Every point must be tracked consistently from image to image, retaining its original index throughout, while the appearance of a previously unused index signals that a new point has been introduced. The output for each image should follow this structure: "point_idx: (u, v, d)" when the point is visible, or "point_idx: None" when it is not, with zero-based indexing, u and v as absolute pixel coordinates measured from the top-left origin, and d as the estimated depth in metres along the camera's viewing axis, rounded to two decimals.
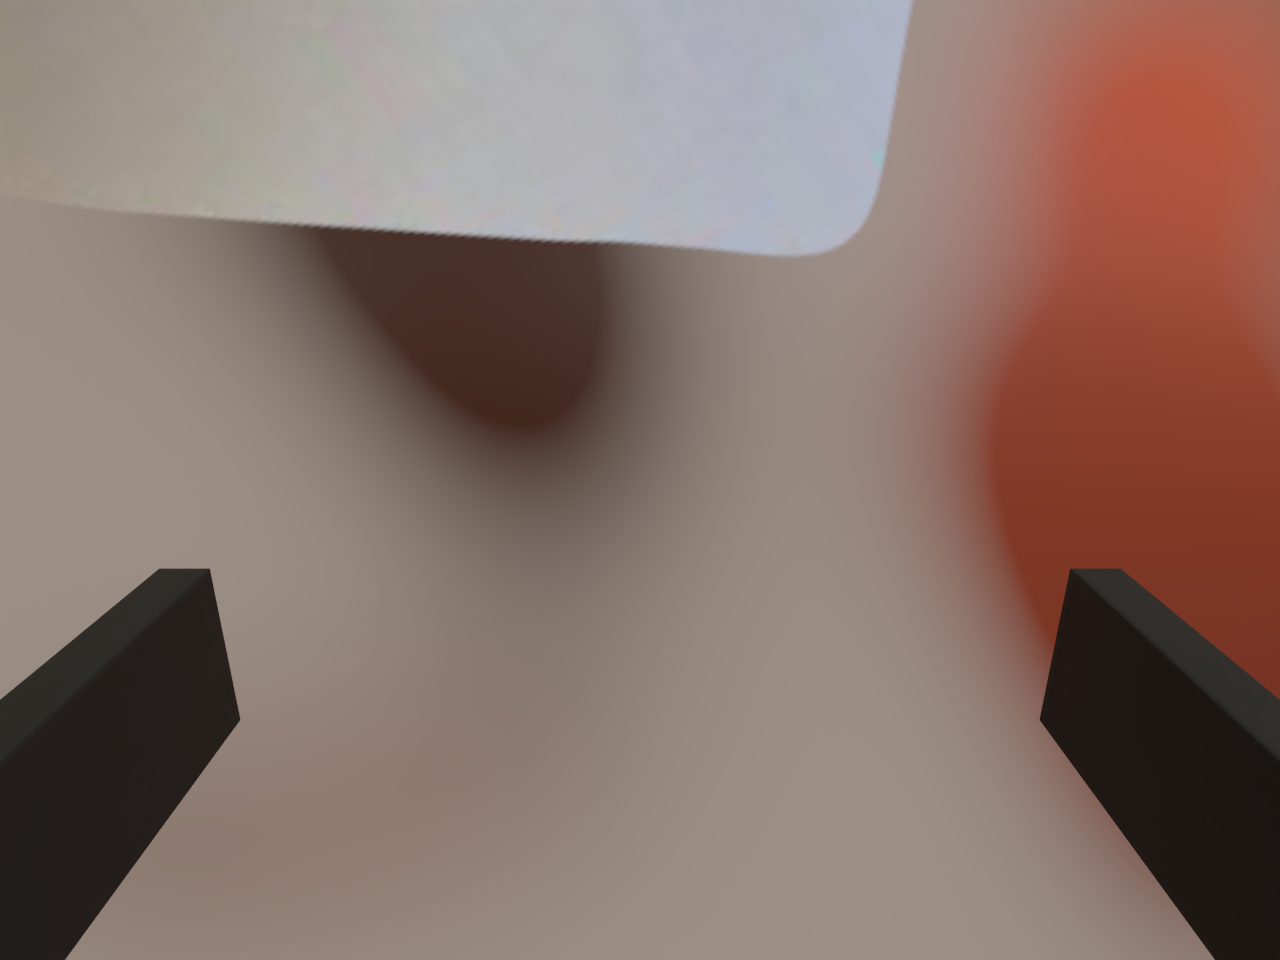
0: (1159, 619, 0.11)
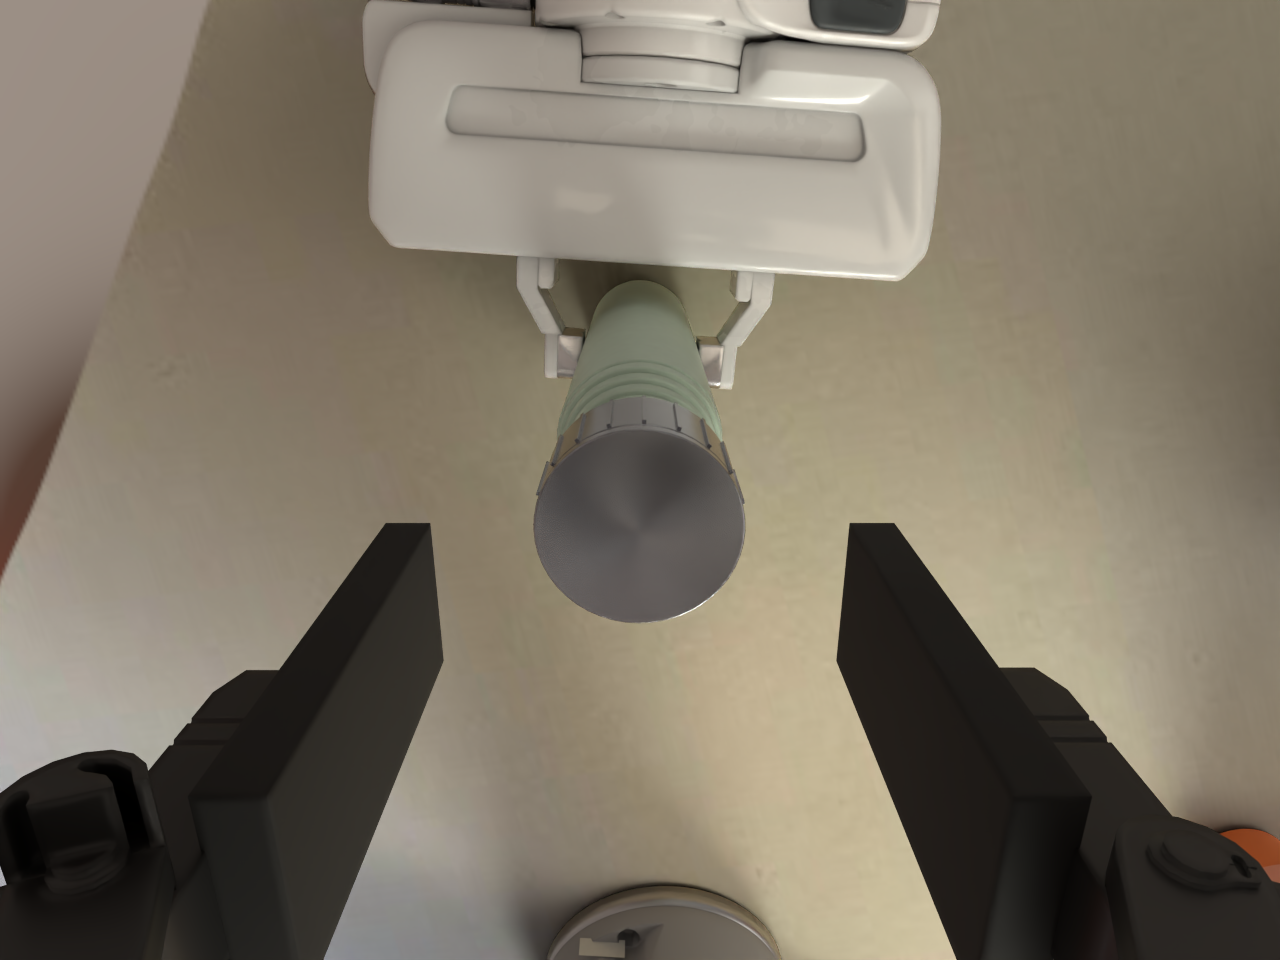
0: (902, 562, 0.13)
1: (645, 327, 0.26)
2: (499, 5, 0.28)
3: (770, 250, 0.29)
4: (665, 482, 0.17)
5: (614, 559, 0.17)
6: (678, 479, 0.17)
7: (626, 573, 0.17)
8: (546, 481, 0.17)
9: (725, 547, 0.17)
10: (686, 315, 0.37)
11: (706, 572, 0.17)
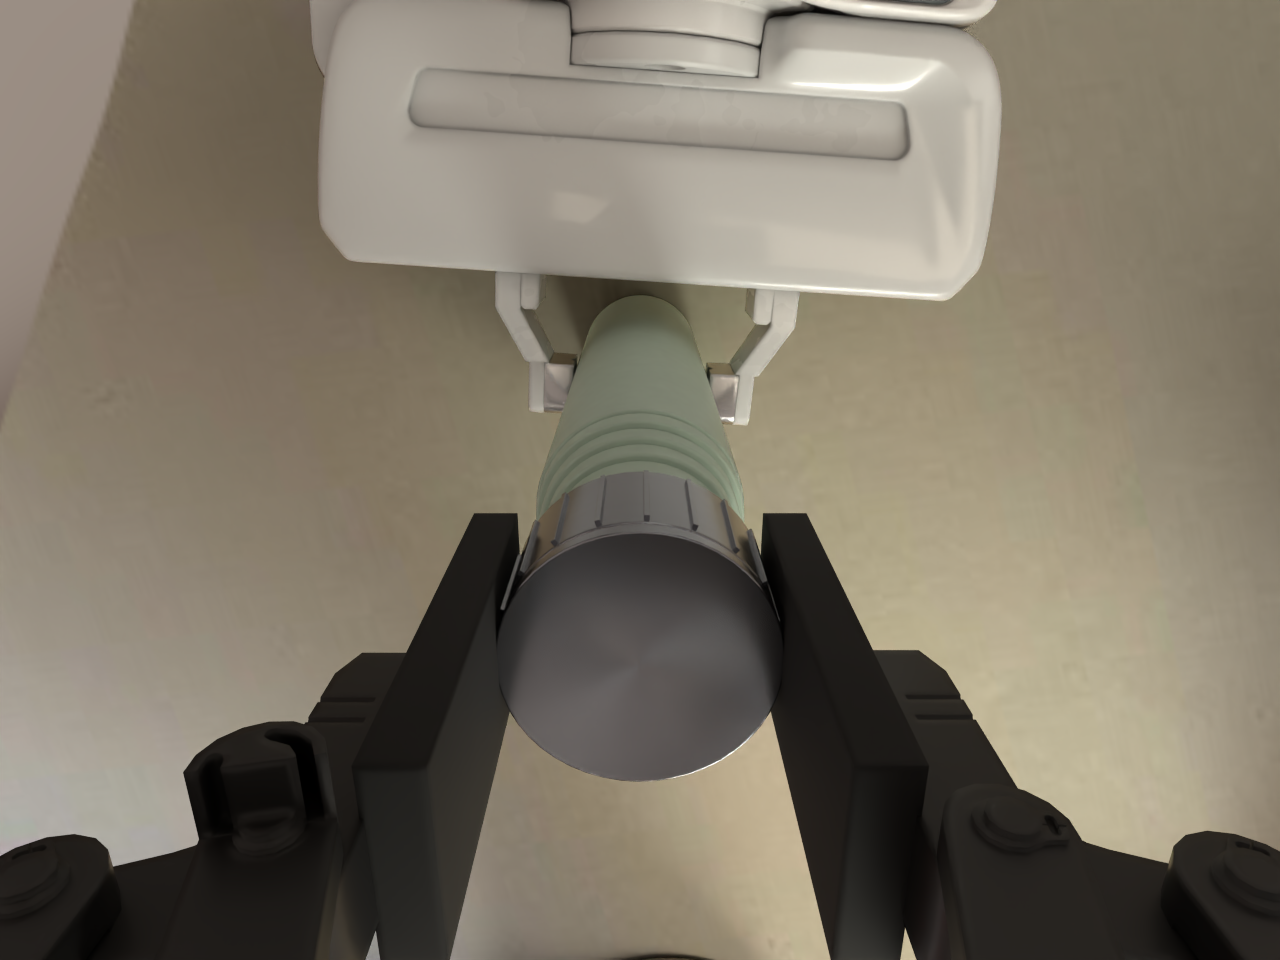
0: (804, 550, 0.13)
1: (647, 360, 0.22)
2: None
3: (795, 265, 0.25)
4: (676, 602, 0.12)
5: (606, 701, 0.13)
6: (694, 598, 0.12)
7: (622, 719, 0.13)
8: (511, 600, 0.12)
9: (757, 686, 0.12)
10: (693, 336, 0.32)
11: (731, 718, 0.13)
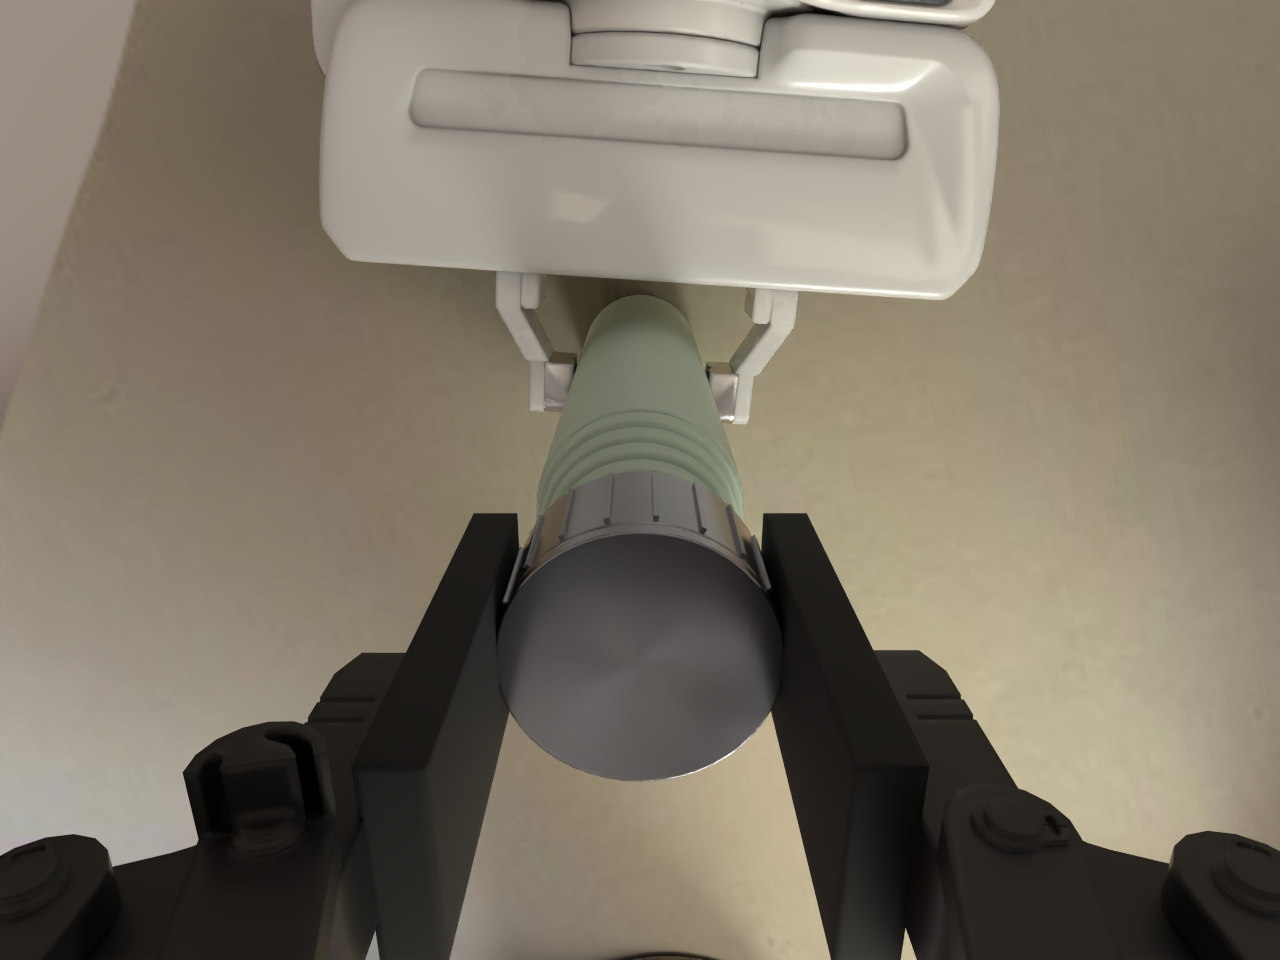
0: (804, 550, 0.13)
1: (647, 359, 0.22)
2: None
3: (794, 264, 0.25)
4: (563, 678, 0.12)
5: (695, 664, 0.12)
6: (549, 670, 0.12)
7: (702, 641, 0.12)
8: None
9: (581, 567, 0.12)
10: None
11: (629, 563, 0.12)
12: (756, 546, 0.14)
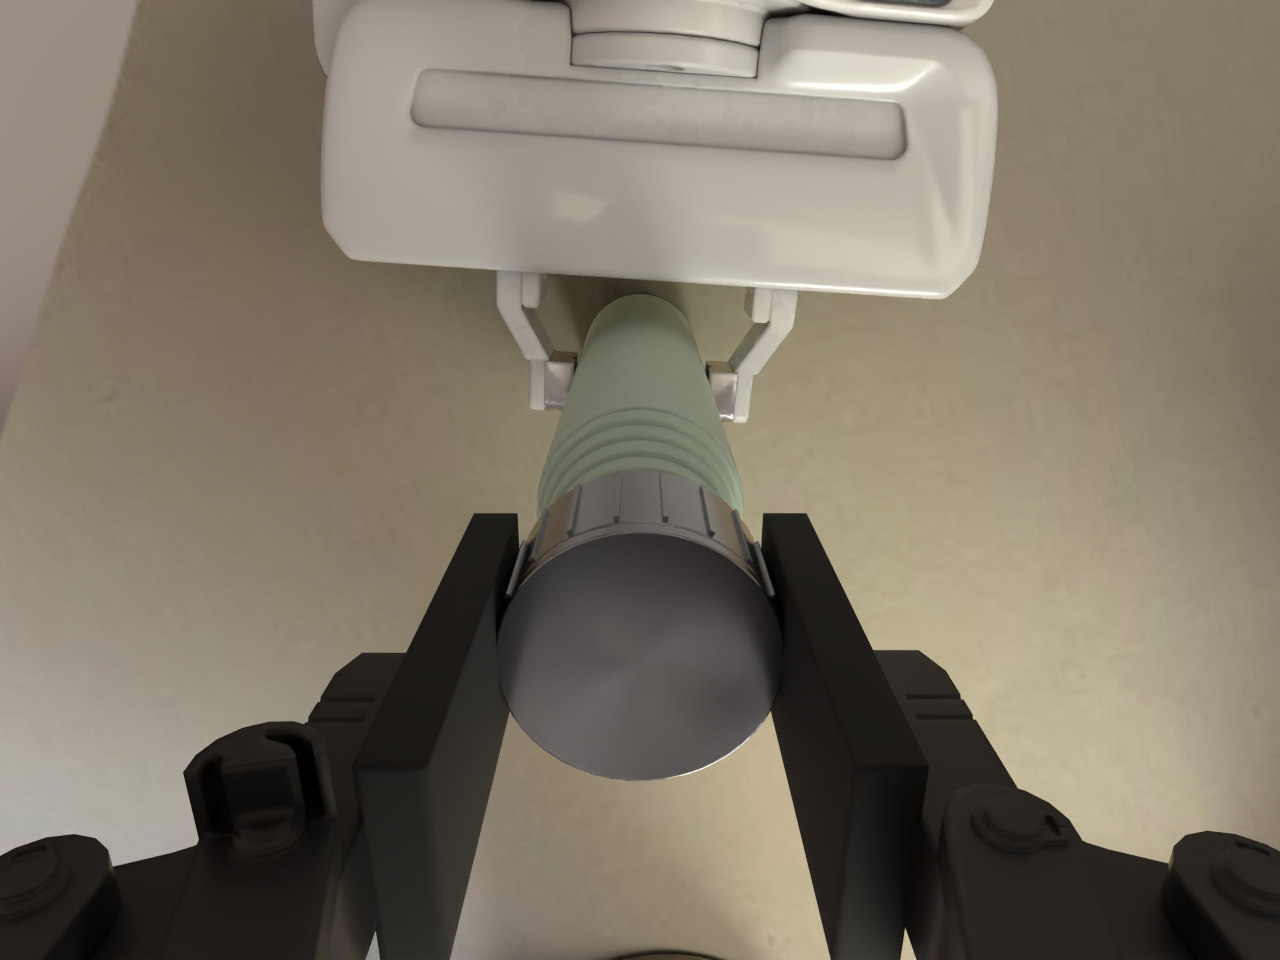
0: (804, 550, 0.13)
1: (647, 358, 0.22)
2: None
3: (793, 263, 0.25)
4: (700, 706, 0.13)
5: (604, 626, 0.12)
6: (701, 719, 0.13)
7: (579, 637, 0.12)
8: (741, 568, 0.12)
9: (593, 755, 0.13)
10: (692, 334, 0.33)
11: (561, 730, 0.13)
12: None
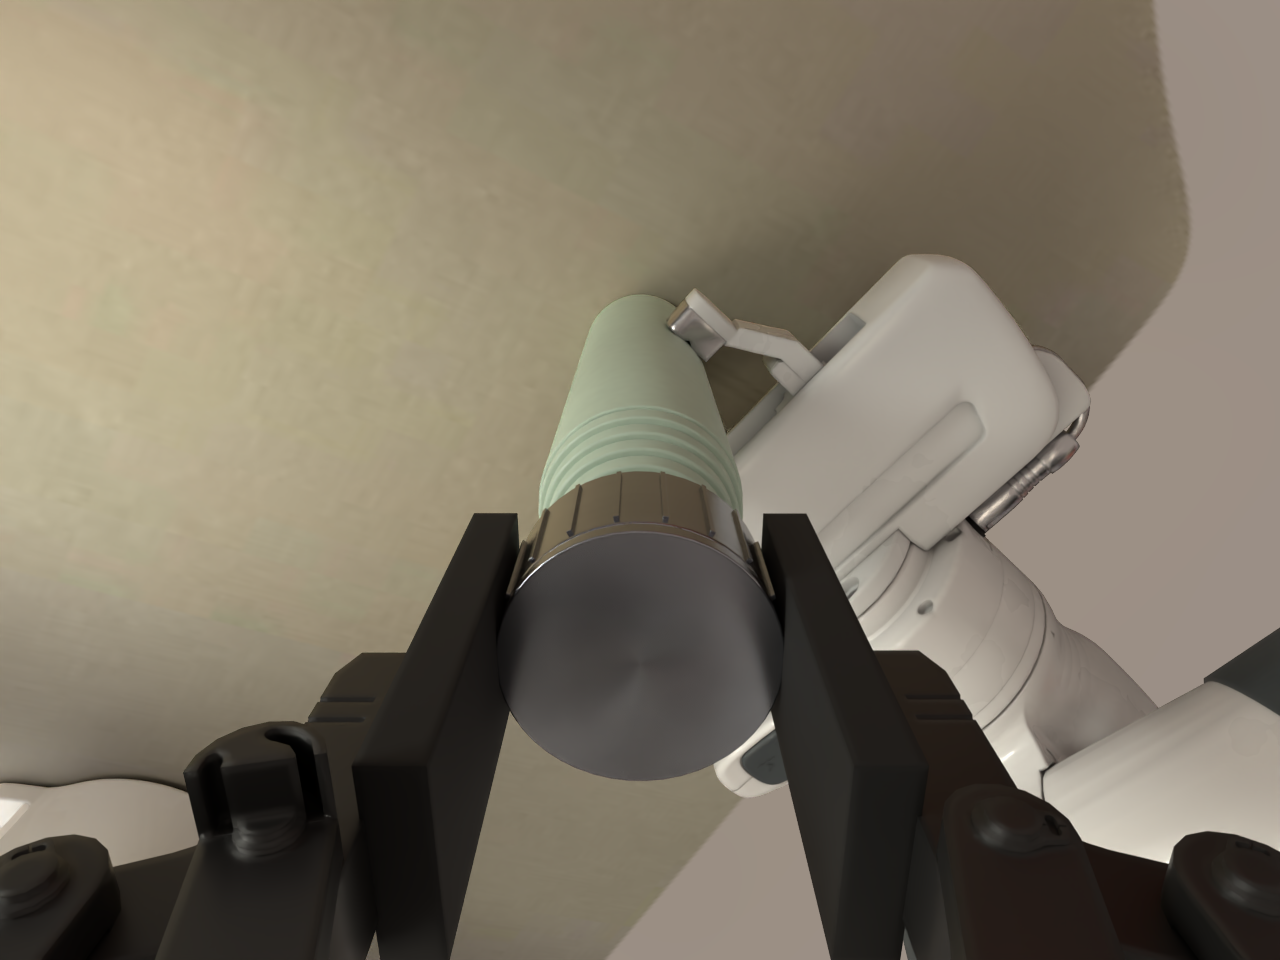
0: (805, 550, 0.13)
1: None
2: (992, 496, 0.29)
3: None
4: (700, 705, 0.13)
5: (604, 626, 0.12)
6: (701, 719, 0.13)
7: (579, 637, 0.12)
8: (741, 568, 0.12)
9: (593, 755, 0.13)
10: None
11: (561, 729, 0.13)
12: None
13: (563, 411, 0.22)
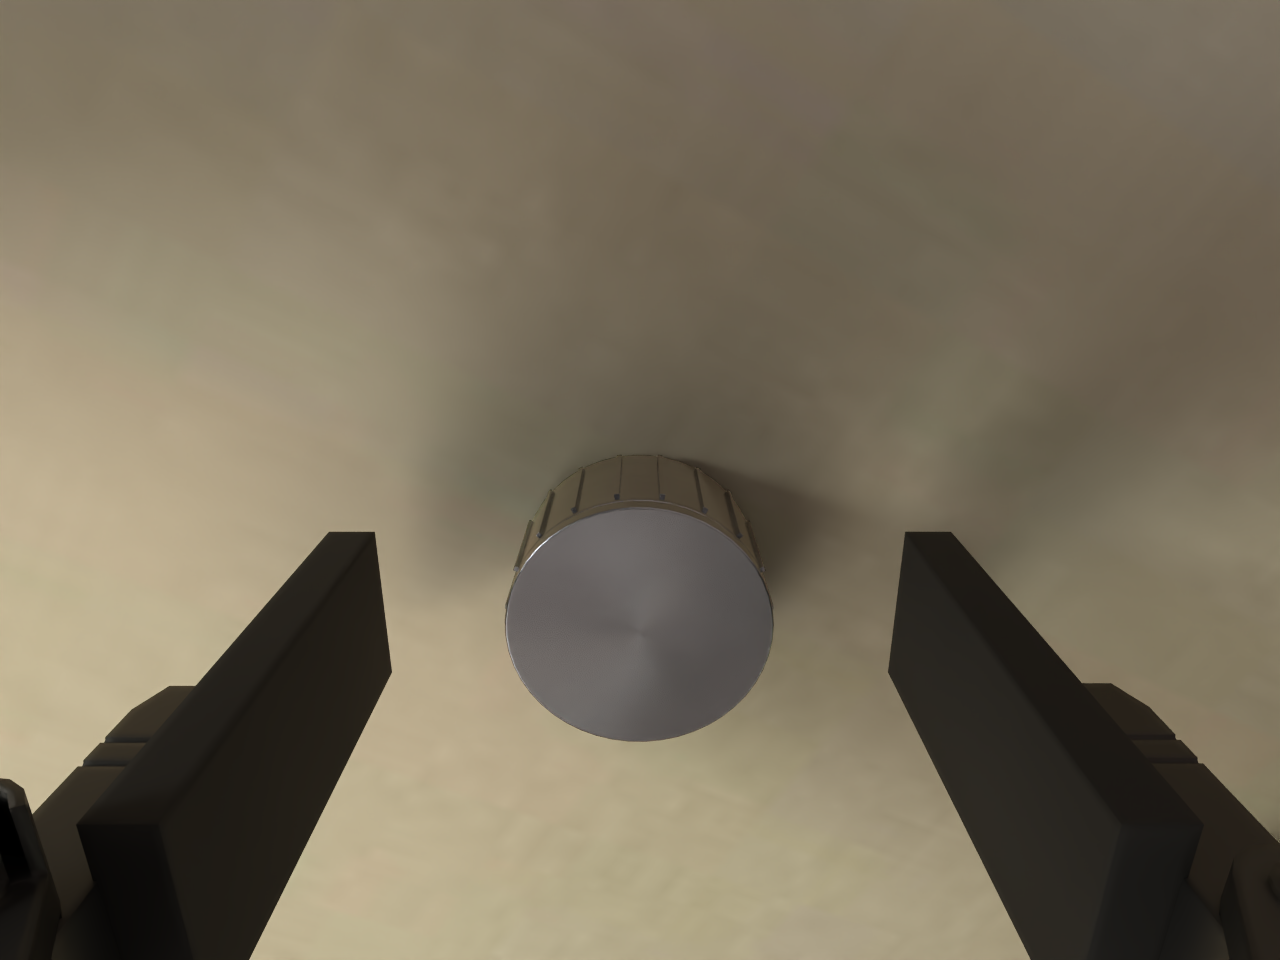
0: (965, 572, 0.12)
1: None
2: None
3: None
4: (695, 670, 0.14)
5: (605, 596, 0.13)
6: (695, 683, 0.14)
7: (583, 606, 0.13)
8: (732, 541, 0.13)
9: (596, 717, 0.14)
10: None
11: (566, 693, 0.14)
12: None
13: None
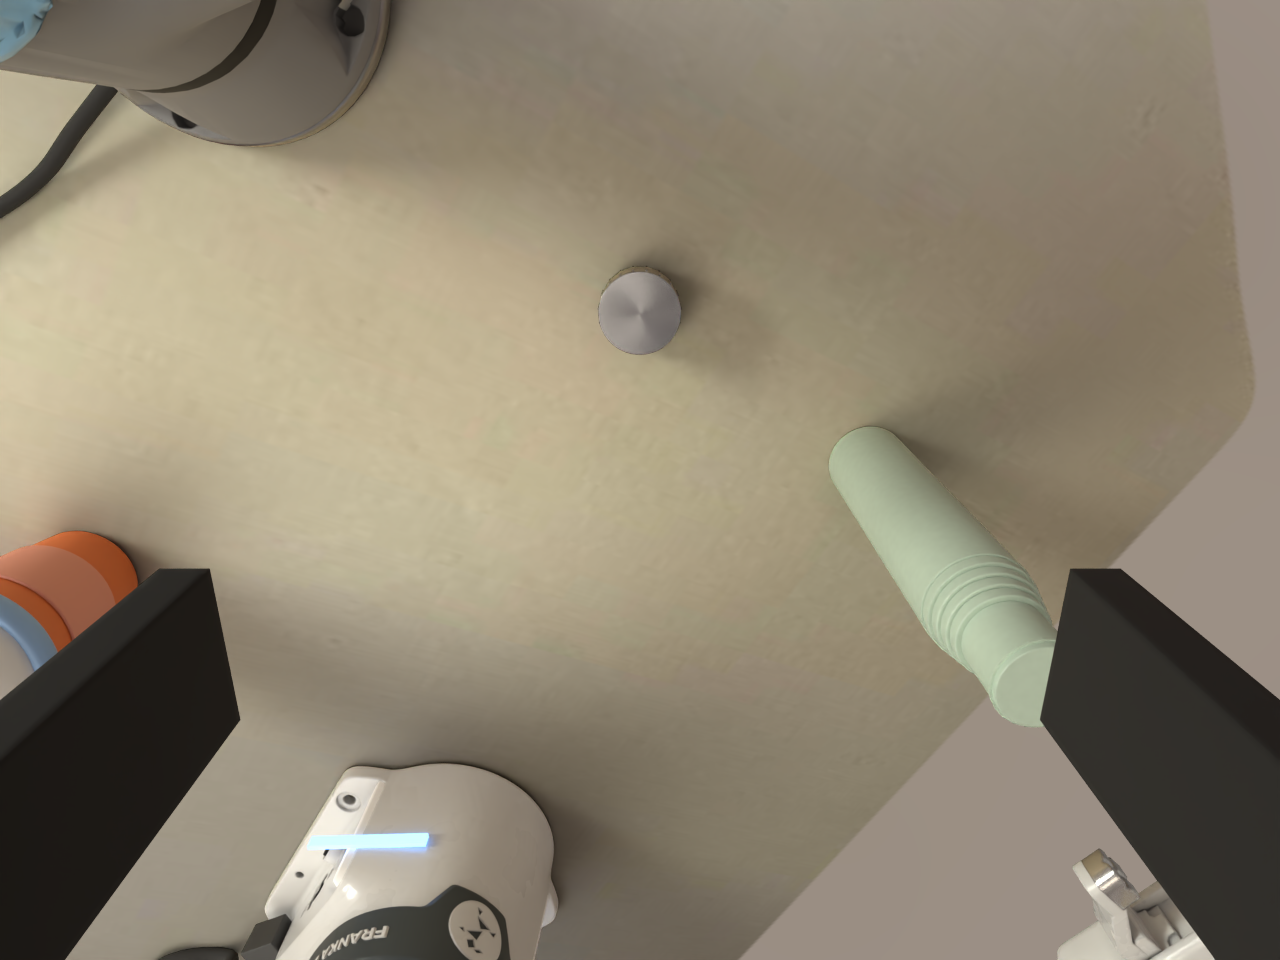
0: (1158, 619, 0.11)
1: None
2: None
3: None
4: (657, 327, 0.44)
5: (629, 301, 0.43)
6: (657, 332, 0.44)
7: (622, 304, 0.43)
8: (667, 282, 0.43)
9: (626, 345, 0.44)
10: None
11: (616, 336, 0.44)
12: (602, 292, 0.45)
13: (898, 539, 0.36)
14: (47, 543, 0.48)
